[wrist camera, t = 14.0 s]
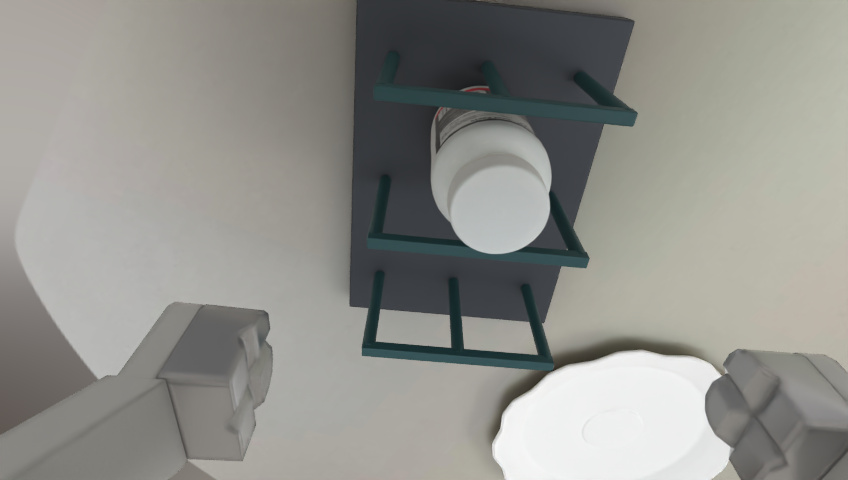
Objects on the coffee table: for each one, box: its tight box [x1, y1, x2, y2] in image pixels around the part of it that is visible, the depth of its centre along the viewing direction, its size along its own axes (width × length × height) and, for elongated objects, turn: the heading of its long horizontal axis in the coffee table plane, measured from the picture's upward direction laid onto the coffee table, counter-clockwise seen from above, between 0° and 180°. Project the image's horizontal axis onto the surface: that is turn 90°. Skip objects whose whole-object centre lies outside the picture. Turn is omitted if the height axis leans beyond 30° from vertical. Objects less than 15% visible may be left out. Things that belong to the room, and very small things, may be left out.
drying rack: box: [350, 0, 638, 371], centre depth 26 cm, size 20×14×8 cm
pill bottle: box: [431, 86, 552, 254], centre depth 23 cm, size 5×5×10 cm
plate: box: [492, 350, 730, 480], centre depth 41 cm, size 21×21×2 cm
